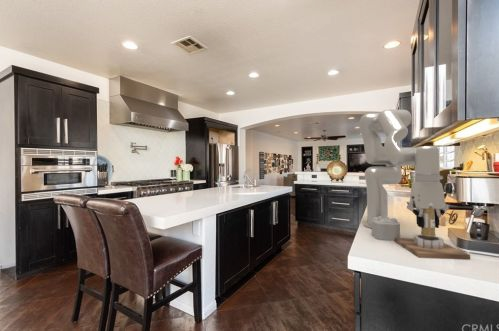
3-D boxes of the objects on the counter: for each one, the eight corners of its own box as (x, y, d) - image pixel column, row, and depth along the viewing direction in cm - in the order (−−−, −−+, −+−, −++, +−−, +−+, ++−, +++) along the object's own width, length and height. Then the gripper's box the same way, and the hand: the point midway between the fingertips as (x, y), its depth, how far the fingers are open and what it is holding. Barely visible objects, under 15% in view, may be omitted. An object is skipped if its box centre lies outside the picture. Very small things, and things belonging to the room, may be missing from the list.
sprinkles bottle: (438, 237, 88) (437, 200, 88) (423, 236, 89) (422, 200, 89) (432, 234, 92) (431, 199, 93) (418, 233, 94) (418, 198, 94)
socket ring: (409, 241, 96) (409, 234, 96) (433, 242, 95) (433, 234, 95) (422, 249, 87) (422, 240, 87) (449, 249, 86) (449, 241, 86)
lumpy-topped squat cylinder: (375, 240, 104) (375, 219, 104) (369, 232, 116) (368, 214, 116) (402, 241, 101) (402, 221, 101) (393, 233, 113) (393, 215, 113)
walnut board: (394, 241, 101) (394, 238, 101) (436, 242, 99) (436, 239, 99) (418, 257, 83) (418, 253, 83) (470, 259, 81) (470, 254, 81)
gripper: (444, 178, 94) (445, 225, 94) (398, 178, 96) (399, 224, 96) (458, 179, 86) (459, 230, 86) (408, 179, 89) (409, 228, 88)
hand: (427, 226), depth 91 cm, fingers closed on sprinkles bottle, 4 cm apart
